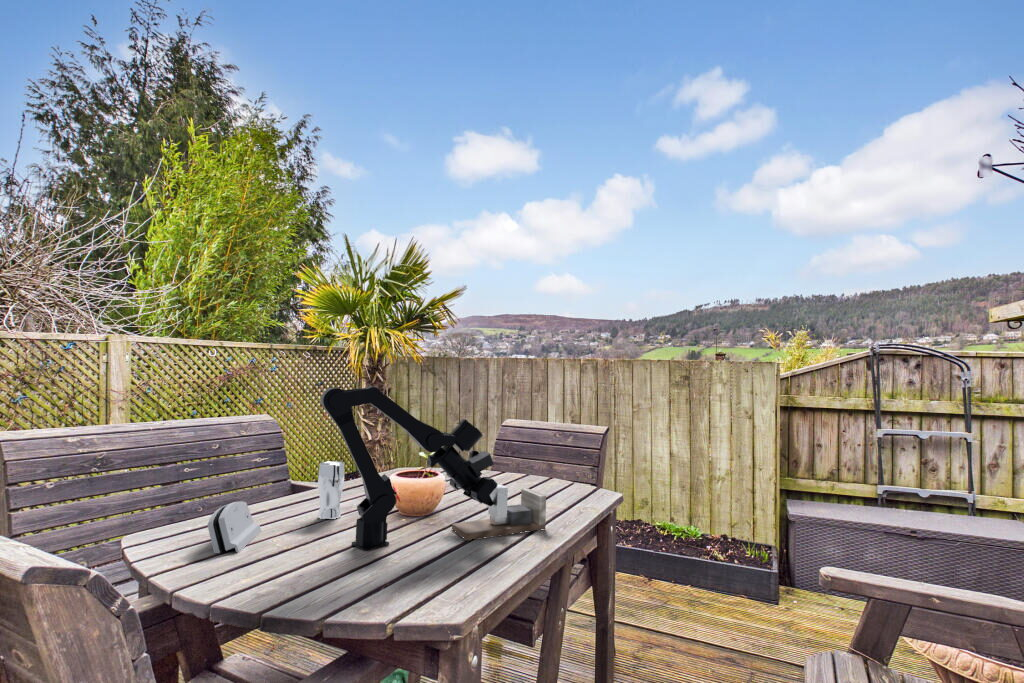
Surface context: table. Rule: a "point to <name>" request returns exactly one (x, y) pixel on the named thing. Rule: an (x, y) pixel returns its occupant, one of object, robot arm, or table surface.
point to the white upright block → (330, 488)
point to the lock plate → (510, 519)
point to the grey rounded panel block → (232, 527)
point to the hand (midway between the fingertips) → (491, 504)
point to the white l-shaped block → (499, 506)
